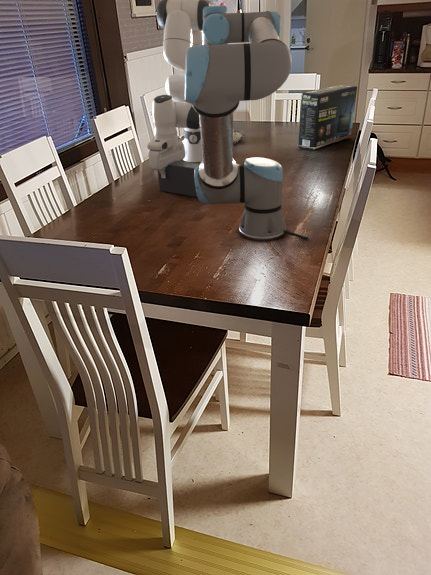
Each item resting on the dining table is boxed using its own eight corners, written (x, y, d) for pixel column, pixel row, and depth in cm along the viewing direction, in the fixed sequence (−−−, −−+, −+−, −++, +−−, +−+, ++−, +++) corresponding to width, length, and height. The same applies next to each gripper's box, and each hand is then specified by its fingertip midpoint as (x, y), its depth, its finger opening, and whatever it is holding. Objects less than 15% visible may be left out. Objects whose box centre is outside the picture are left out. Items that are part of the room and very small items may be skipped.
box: (209, 192, 184) (208, 164, 178) (201, 197, 180) (200, 169, 174) (168, 186, 193) (165, 159, 187) (159, 190, 189) (157, 163, 183)
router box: (314, 151, 231) (318, 94, 217) (296, 148, 237) (299, 92, 224) (352, 138, 251) (358, 85, 238) (335, 135, 258) (340, 83, 245)
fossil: (235, 139, 243) (216, 121, 246) (225, 155, 249) (206, 138, 252) (251, 137, 256) (233, 120, 260) (241, 153, 263) (223, 137, 266)
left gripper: (174, 134, 188) (177, 167, 195) (144, 145, 173) (148, 181, 180) (187, 135, 185) (189, 169, 192) (157, 147, 170) (161, 183, 177)
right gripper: (225, 59, 156) (226, 123, 167) (185, 67, 137) (189, 139, 148) (245, 59, 152) (245, 125, 163) (206, 67, 134) (209, 141, 145)
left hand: (169, 175), depth 186 cm, fingers closed on box, 6 cm apart
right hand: (218, 132), depth 156 cm, fingers open, 13 cm apart
